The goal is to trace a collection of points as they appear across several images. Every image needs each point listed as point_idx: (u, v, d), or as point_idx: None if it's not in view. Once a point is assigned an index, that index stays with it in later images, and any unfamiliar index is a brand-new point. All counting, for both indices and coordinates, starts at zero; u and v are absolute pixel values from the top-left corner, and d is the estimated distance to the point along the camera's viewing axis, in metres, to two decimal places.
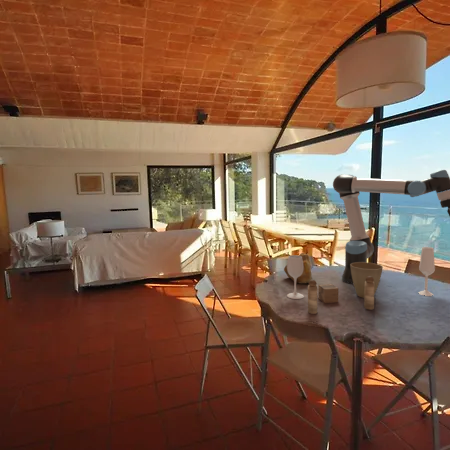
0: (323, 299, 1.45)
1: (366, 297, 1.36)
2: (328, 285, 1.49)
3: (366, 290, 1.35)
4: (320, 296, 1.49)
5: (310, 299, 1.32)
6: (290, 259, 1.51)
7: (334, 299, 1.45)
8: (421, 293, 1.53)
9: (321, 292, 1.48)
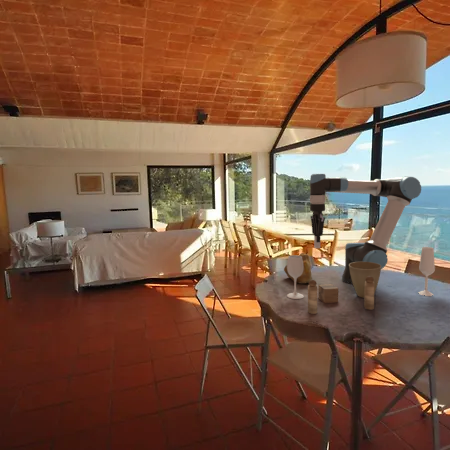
0: (323, 299, 1.45)
1: (366, 297, 1.36)
2: (328, 285, 1.49)
3: (366, 290, 1.35)
4: (320, 296, 1.49)
5: (310, 299, 1.32)
6: (290, 259, 1.51)
7: (334, 299, 1.45)
8: (421, 293, 1.53)
9: (321, 292, 1.48)
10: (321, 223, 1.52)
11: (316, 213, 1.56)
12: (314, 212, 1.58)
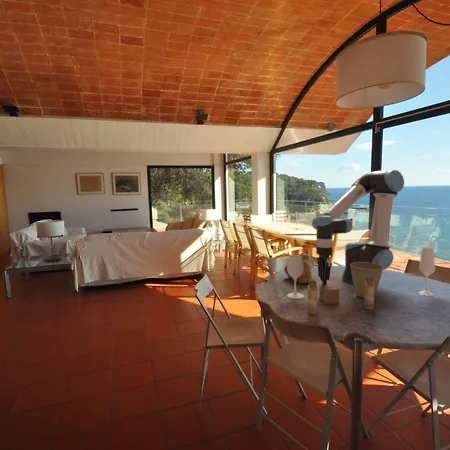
0: (324, 299, 1.44)
1: (366, 297, 1.36)
2: (329, 286, 1.48)
3: (366, 290, 1.35)
4: (321, 297, 1.48)
5: (310, 299, 1.32)
6: (290, 259, 1.51)
7: (335, 300, 1.44)
8: (421, 293, 1.53)
9: (321, 293, 1.47)
10: (328, 268, 1.46)
11: (322, 257, 1.49)
12: (320, 255, 1.52)
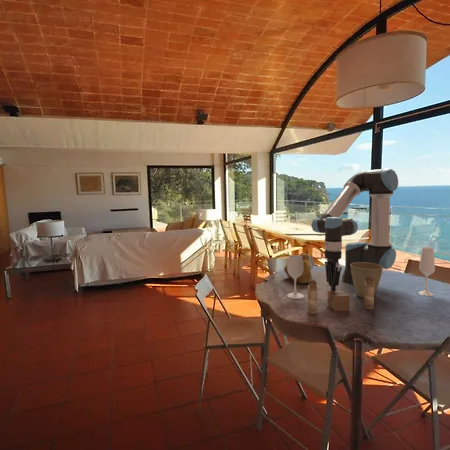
0: (333, 307, 1.35)
1: (366, 297, 1.36)
2: (338, 292, 1.39)
3: (366, 290, 1.35)
4: (329, 304, 1.38)
5: (310, 299, 1.32)
6: (290, 259, 1.51)
7: (345, 307, 1.34)
8: (421, 293, 1.53)
9: (330, 299, 1.37)
10: (337, 273, 1.37)
11: (331, 261, 1.40)
12: (329, 259, 1.42)
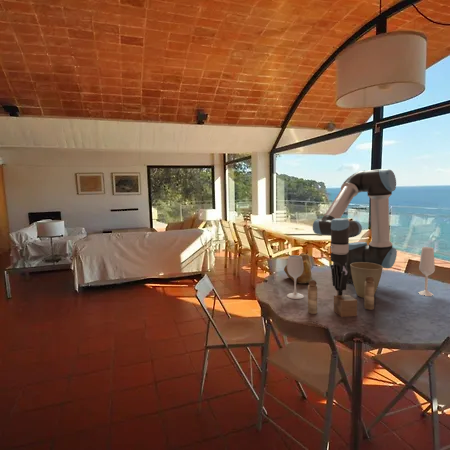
0: (340, 312, 1.29)
1: (366, 297, 1.36)
2: (345, 296, 1.33)
3: (366, 290, 1.35)
4: (336, 308, 1.32)
5: (310, 299, 1.32)
6: (290, 259, 1.51)
7: (352, 312, 1.29)
8: (421, 293, 1.53)
9: (337, 304, 1.32)
10: (344, 277, 1.31)
11: (338, 264, 1.34)
12: (335, 262, 1.37)
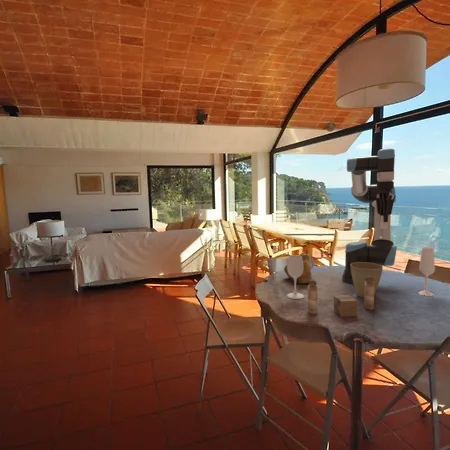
0: (340, 312, 1.29)
1: (366, 297, 1.36)
2: (345, 296, 1.33)
3: (366, 290, 1.35)
4: (336, 309, 1.32)
5: (310, 299, 1.32)
6: (290, 259, 1.51)
7: (352, 313, 1.29)
8: (421, 293, 1.53)
9: (337, 304, 1.32)
10: (391, 201, 1.44)
11: (384, 191, 1.47)
12: (381, 190, 1.49)
